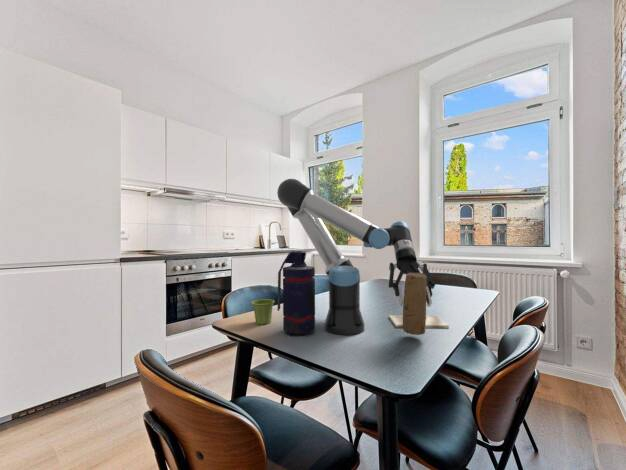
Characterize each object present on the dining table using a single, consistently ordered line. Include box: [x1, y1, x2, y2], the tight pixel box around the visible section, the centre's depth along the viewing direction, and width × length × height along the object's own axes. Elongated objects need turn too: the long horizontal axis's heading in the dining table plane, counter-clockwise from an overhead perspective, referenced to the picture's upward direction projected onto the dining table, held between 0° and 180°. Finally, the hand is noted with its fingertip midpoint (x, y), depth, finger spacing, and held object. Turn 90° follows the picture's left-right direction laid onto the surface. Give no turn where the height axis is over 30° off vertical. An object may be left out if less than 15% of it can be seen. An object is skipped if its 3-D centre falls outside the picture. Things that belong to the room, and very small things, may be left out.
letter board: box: [388, 314, 450, 329], centre depth 124 cm, size 20×14×1 cm
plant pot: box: [251, 298, 275, 325], centre depth 125 cm, size 9×9×9 cm
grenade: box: [277, 250, 316, 337], centre depth 113 cm, size 14×12×30 cm
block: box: [402, 272, 427, 336], centre depth 105 cm, size 11×8×20 cm
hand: (415, 304), depth 104 cm, fingers closed on block, 9 cm apart
